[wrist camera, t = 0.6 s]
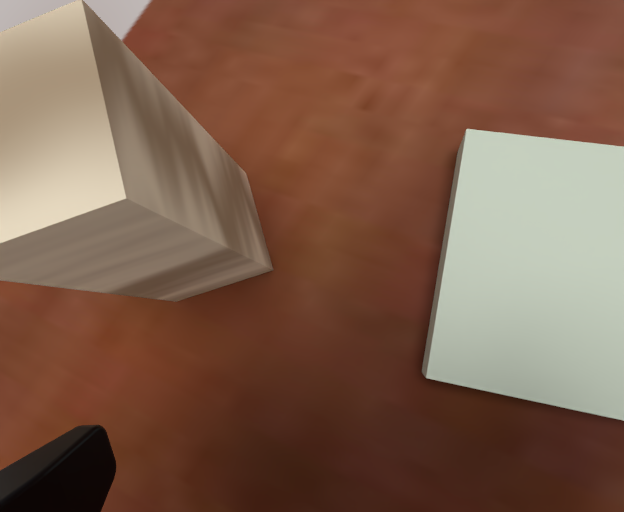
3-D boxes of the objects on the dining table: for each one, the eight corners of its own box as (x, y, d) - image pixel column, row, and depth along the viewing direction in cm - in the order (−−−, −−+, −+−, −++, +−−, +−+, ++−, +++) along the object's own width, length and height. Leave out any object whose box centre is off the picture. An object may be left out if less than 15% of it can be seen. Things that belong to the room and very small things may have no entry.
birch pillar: (273, 270, 22) (126, 198, 10) (176, 301, 23) (-78, 270, 10) (246, 173, 23) (81, -2, 11) (153, 206, 23) (-103, 75, 11)
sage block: (673, 425, 19) (726, 442, 16) (421, 371, 21) (426, 378, 18) (697, 185, 20) (749, 161, 17) (456, 155, 22) (466, 128, 19)
